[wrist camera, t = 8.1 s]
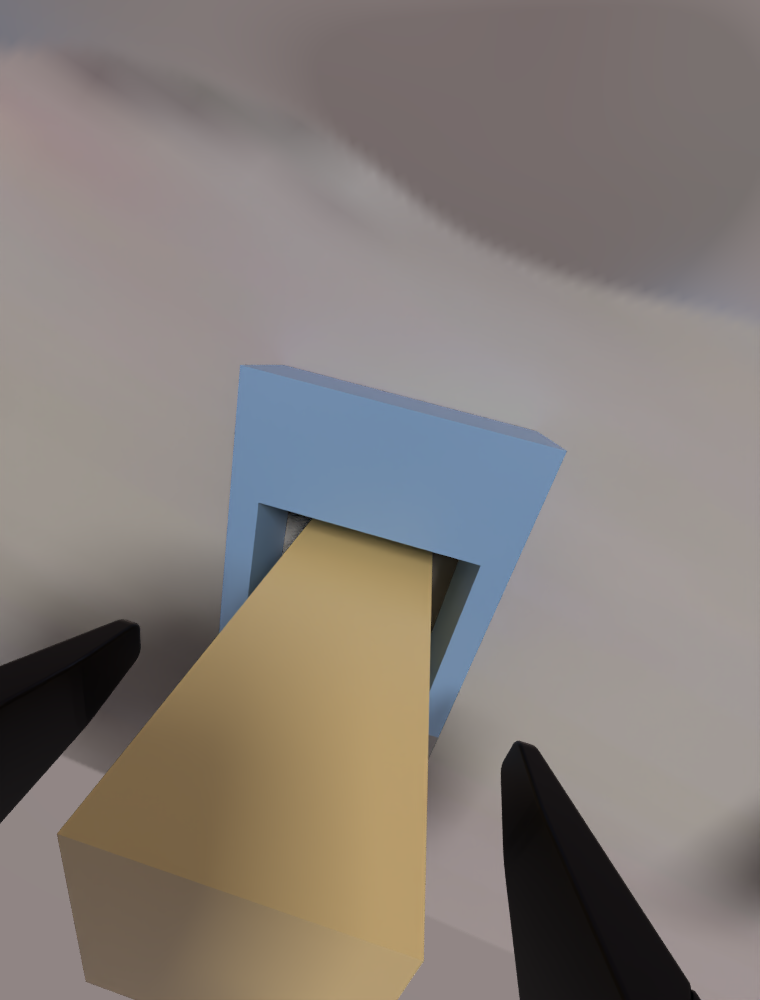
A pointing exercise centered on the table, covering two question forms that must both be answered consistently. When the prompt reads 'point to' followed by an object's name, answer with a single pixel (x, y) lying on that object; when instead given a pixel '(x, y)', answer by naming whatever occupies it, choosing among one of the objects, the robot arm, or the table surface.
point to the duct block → (385, 494)
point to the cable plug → (274, 796)
